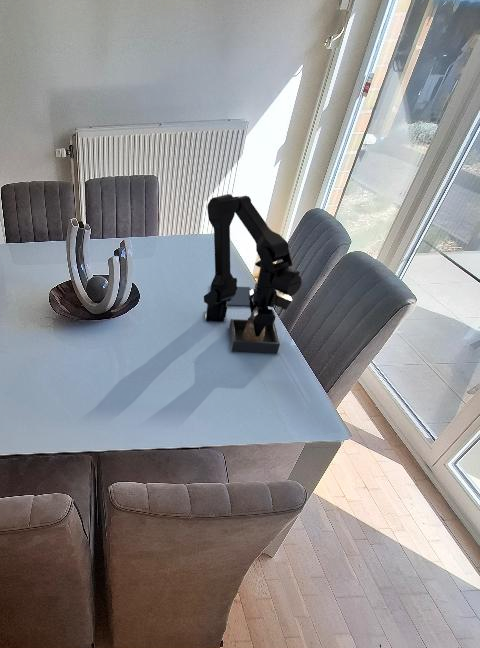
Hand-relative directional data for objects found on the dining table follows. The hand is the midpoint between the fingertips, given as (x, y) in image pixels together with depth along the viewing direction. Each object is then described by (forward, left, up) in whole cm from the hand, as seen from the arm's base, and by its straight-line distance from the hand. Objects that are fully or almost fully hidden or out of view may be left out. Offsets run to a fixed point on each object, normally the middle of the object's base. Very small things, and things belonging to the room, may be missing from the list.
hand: (255, 330), depth 152 cm
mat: (-5, +33, -5) cm, 33 cm away
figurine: (0, +1, -4) cm, 4 cm away
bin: (0, +1, -5) cm, 5 cm away
